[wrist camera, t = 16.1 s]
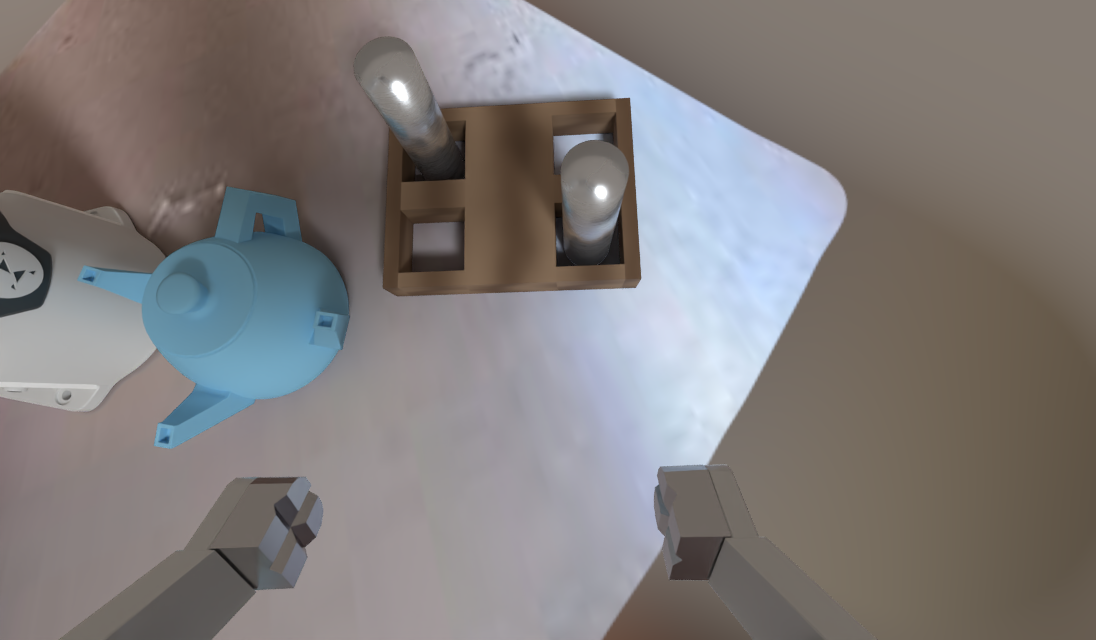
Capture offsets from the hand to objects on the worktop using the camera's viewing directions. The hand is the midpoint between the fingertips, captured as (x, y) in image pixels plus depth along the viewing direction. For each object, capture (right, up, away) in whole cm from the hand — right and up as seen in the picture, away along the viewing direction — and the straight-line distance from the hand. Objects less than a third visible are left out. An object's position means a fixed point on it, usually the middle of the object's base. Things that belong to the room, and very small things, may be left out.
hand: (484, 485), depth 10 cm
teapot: (-22, +4, +29) cm, 37 cm away
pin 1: (-8, +18, +30) cm, 36 cm away
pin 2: (+5, +10, +28) cm, 30 cm away
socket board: (-2, +14, +29) cm, 32 cm away
